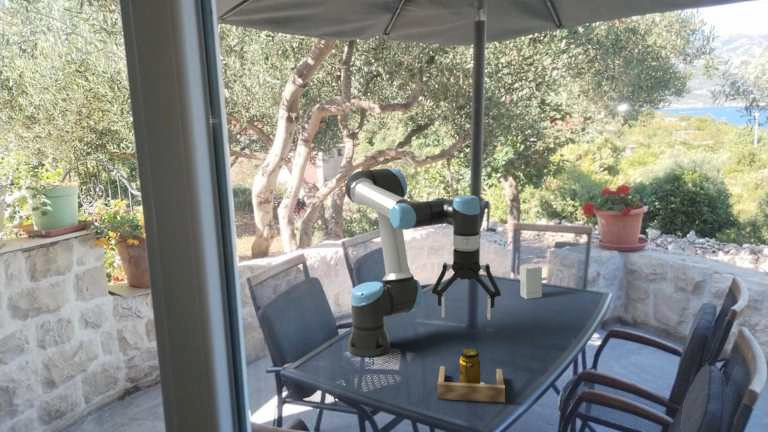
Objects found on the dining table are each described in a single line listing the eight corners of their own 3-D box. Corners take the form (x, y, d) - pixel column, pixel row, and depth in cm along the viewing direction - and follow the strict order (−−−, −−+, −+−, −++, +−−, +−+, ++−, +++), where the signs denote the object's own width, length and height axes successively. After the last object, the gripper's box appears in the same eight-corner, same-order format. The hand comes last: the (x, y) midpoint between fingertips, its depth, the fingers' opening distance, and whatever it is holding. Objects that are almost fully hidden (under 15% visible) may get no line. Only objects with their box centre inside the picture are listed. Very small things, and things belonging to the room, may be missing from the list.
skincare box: (535, 293, 234) (536, 263, 232) (542, 297, 228) (543, 266, 226) (519, 295, 232) (519, 264, 230) (525, 299, 226) (526, 268, 224)
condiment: (456, 384, 151) (456, 347, 149) (483, 382, 152) (483, 345, 150) (461, 396, 144) (461, 358, 142) (490, 395, 145) (490, 356, 143)
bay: (437, 398, 143) (437, 384, 143) (440, 375, 158) (440, 361, 157) (504, 402, 140) (504, 387, 140) (501, 378, 154) (501, 364, 154)
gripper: (422, 250, 144) (423, 319, 148) (510, 252, 140) (509, 323, 143) (425, 244, 151) (425, 310, 155) (509, 246, 147) (507, 314, 151)
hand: (465, 316), depth 149 cm, fingers open, 13 cm apart
